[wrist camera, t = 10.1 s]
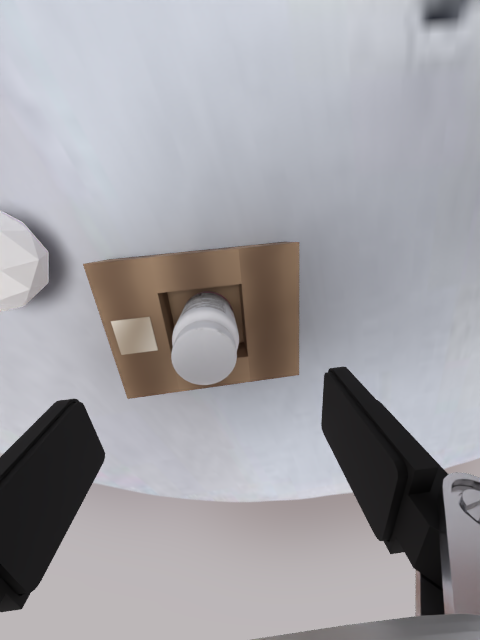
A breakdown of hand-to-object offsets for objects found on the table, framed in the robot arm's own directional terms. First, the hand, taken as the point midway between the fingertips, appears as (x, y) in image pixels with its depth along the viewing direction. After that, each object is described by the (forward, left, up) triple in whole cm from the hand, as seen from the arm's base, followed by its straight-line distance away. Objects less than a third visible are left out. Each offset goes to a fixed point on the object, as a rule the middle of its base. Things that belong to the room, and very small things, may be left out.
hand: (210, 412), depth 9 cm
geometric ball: (+16, -7, -15) cm, 22 cm away
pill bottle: (+1, 0, -14) cm, 14 cm away
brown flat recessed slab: (+1, 0, -14) cm, 14 cm away
